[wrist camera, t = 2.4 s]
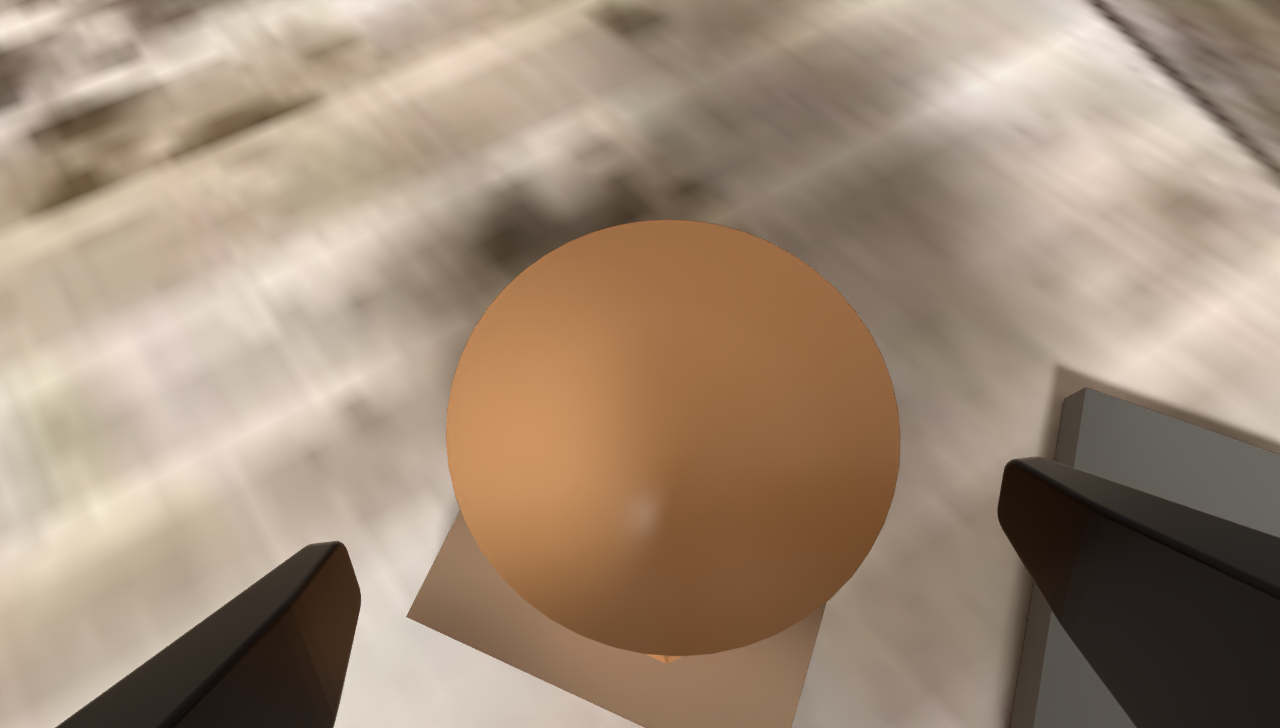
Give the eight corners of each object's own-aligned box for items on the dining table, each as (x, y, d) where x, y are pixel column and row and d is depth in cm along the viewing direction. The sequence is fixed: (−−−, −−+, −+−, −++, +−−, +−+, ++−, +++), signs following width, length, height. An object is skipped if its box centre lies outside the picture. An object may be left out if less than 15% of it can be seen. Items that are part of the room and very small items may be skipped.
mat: (1455, 952, 14) (1512, 975, 13) (1004, 757, 16) (1027, 765, 15) (1431, 528, 18) (1475, 523, 17) (1064, 398, 19) (1086, 387, 18)
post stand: (758, 768, 16) (824, 846, 10) (431, 618, 17) (330, 612, 11) (854, 436, 19) (946, 356, 13) (573, 330, 20) (549, 215, 14)
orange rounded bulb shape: (731, 685, 15) (829, 747, 7) (493, 579, 15) (357, 535, 8) (807, 445, 17) (944, 299, 9) (594, 364, 17) (563, 169, 10)
